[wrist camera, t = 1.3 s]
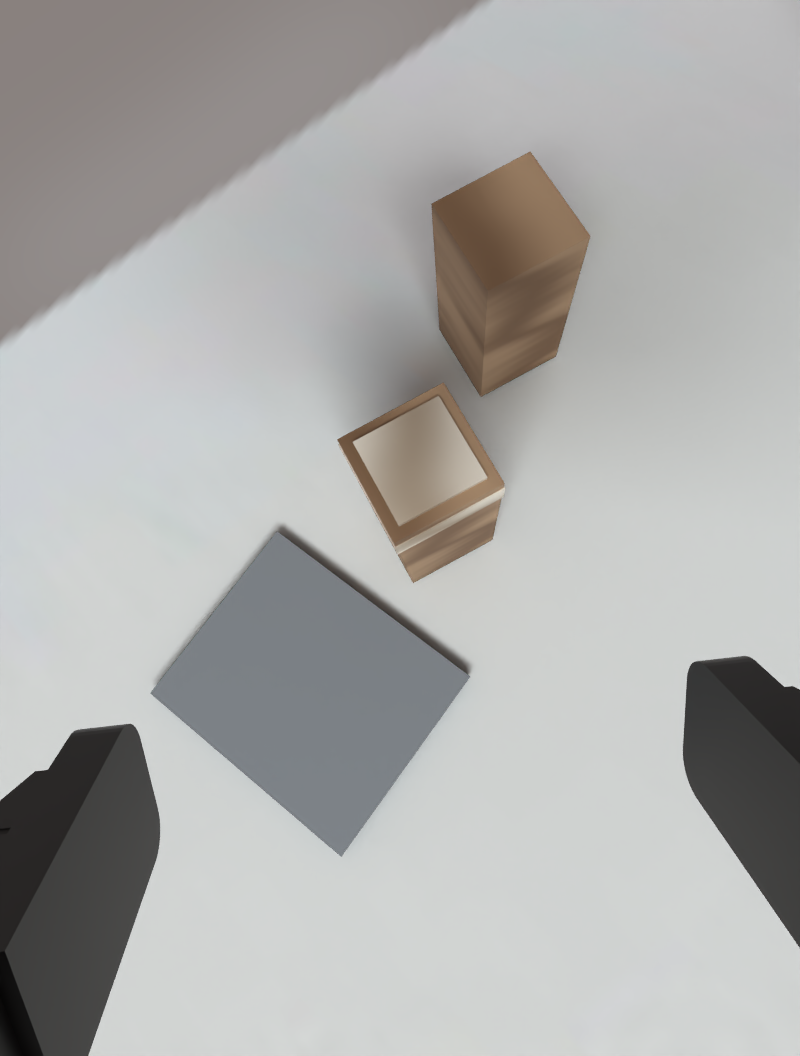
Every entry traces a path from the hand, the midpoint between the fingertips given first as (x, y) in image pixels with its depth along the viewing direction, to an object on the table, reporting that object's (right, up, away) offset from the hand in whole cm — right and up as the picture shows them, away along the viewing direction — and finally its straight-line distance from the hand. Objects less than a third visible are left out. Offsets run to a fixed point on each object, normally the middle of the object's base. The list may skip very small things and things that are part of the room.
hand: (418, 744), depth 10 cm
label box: (+1, +3, +25) cm, 25 cm away
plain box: (+5, +13, +27) cm, 30 cm away
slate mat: (-5, -5, +23) cm, 24 cm away
